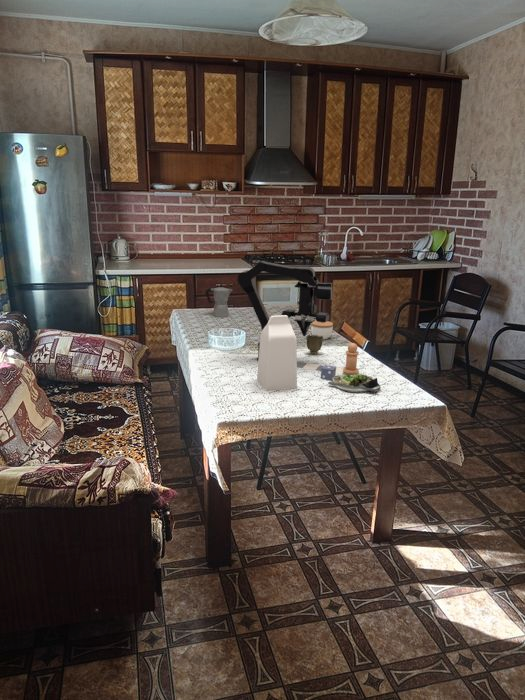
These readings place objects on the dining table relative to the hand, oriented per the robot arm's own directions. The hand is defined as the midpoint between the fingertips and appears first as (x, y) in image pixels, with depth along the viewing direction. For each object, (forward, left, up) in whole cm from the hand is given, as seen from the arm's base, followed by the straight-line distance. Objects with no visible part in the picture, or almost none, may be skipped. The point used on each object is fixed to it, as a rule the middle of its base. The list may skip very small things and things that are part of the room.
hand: (304, 335), depth 221 cm
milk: (-22, -17, -12) cm, 30 cm away
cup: (+12, +10, -12) cm, 20 cm away
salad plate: (+5, -30, -13) cm, 33 cm away
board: (+4, -9, -12) cm, 16 cm away
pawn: (+11, -18, -12) cm, 24 cm away
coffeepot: (+2, +93, -12) cm, 94 cm away
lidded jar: (+30, +31, -12) cm, 45 cm away
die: (0, -19, -12) cm, 23 cm away
